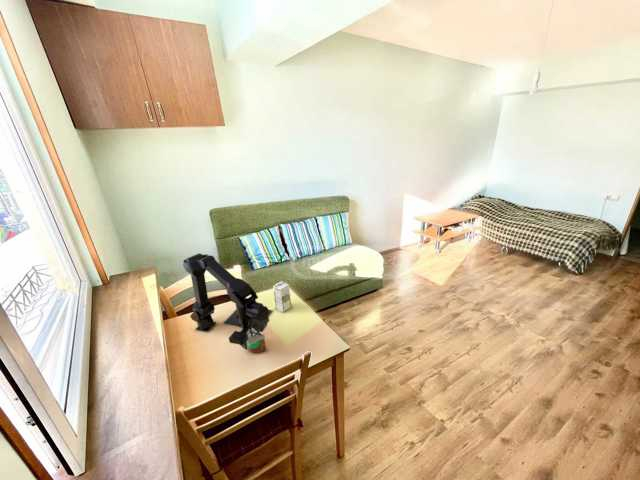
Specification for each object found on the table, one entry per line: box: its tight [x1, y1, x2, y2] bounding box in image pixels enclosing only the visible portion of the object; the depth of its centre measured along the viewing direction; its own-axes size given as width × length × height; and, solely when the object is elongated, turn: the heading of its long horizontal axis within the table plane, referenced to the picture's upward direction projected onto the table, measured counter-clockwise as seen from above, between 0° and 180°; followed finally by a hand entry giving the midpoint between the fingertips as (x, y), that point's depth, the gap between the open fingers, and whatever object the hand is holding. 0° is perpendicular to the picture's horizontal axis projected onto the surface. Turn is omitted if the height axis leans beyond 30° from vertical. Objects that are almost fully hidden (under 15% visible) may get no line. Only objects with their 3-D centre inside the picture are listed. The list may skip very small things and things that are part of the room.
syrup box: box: [272, 281, 292, 313], centre depth 143 cm, size 6×6×14 cm
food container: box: [246, 328, 267, 354], centre depth 118 cm, size 12×6×10 cm, turn 47°
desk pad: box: [223, 309, 272, 327], centre depth 139 cm, size 18×14×1 cm
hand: (251, 341), depth 118 cm, fingers open, 9 cm apart
